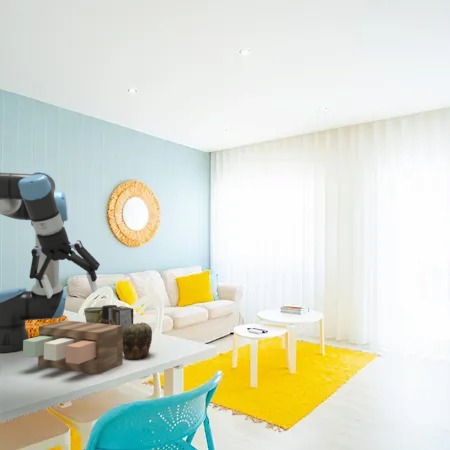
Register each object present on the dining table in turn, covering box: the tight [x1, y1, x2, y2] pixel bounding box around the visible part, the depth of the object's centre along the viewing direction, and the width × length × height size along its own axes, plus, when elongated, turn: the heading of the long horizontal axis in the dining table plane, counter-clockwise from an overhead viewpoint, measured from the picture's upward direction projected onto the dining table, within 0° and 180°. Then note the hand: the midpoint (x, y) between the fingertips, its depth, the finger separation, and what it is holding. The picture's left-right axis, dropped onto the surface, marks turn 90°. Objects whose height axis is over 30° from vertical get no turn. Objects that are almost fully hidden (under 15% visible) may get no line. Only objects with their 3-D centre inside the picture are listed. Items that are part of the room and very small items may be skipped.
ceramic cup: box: [83, 306, 102, 324], centre depth 196 cm, size 13×10×10 cm
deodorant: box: [101, 304, 118, 324], centre depth 171 cm, size 6×6×15 cm
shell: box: [123, 322, 153, 361], centre depth 148 cm, size 11×11×12 cm
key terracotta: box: [66, 339, 97, 364], centre depth 127 cm, size 5×9×5 cm, turn 157°
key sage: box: [22, 335, 54, 359], centre depth 134 cm, size 5×9×5 cm, turn 157°
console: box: [37, 319, 124, 375], centre depth 138 cm, size 26×12×13 cm, turn 67°
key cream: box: [44, 337, 75, 361], centre depth 130 cm, size 5×9×5 cm, turn 157°
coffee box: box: [109, 305, 134, 333], centre depth 159 cm, size 9×6×16 cm
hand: (72, 292), depth 121 cm, fingers open, 13 cm apart
